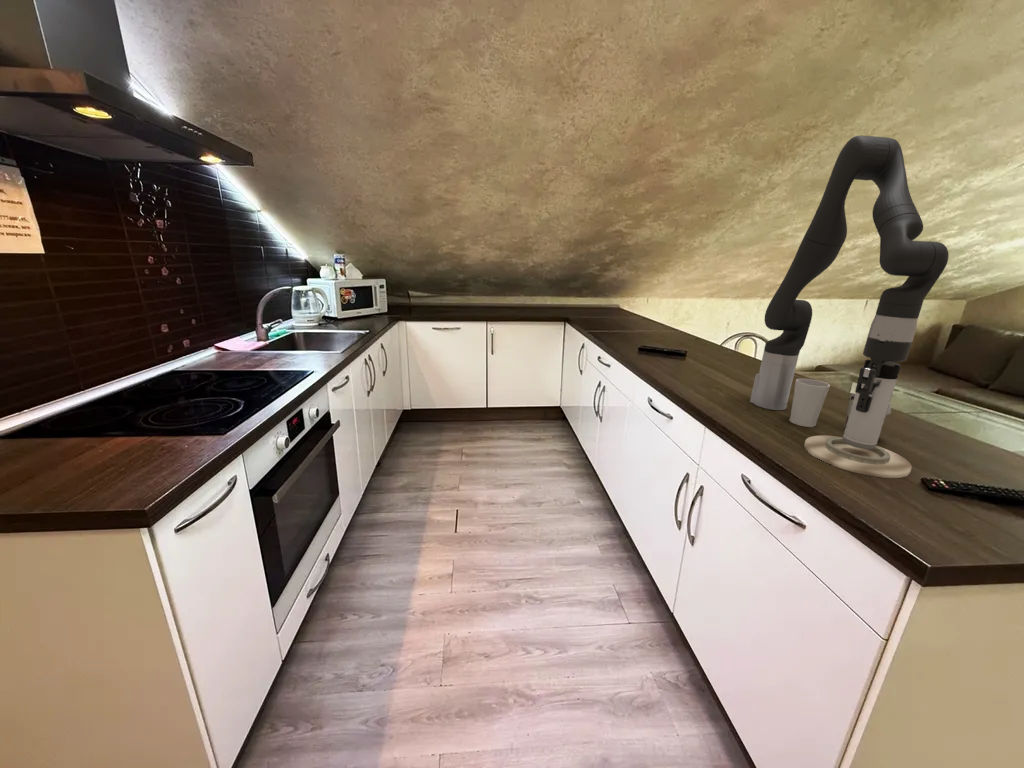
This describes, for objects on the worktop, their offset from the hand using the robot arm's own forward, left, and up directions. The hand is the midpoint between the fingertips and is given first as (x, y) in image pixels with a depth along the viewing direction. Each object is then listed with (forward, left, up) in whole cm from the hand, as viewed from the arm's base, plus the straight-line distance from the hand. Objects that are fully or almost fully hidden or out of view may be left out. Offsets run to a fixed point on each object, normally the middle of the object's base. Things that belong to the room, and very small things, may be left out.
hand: (868, 409), depth 99 cm
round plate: (0, 0, -12) cm, 12 cm away
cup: (-18, +13, -12) cm, 25 cm away
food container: (-5, +19, -12) cm, 23 cm away
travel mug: (0, 0, -9) cm, 9 cm away
